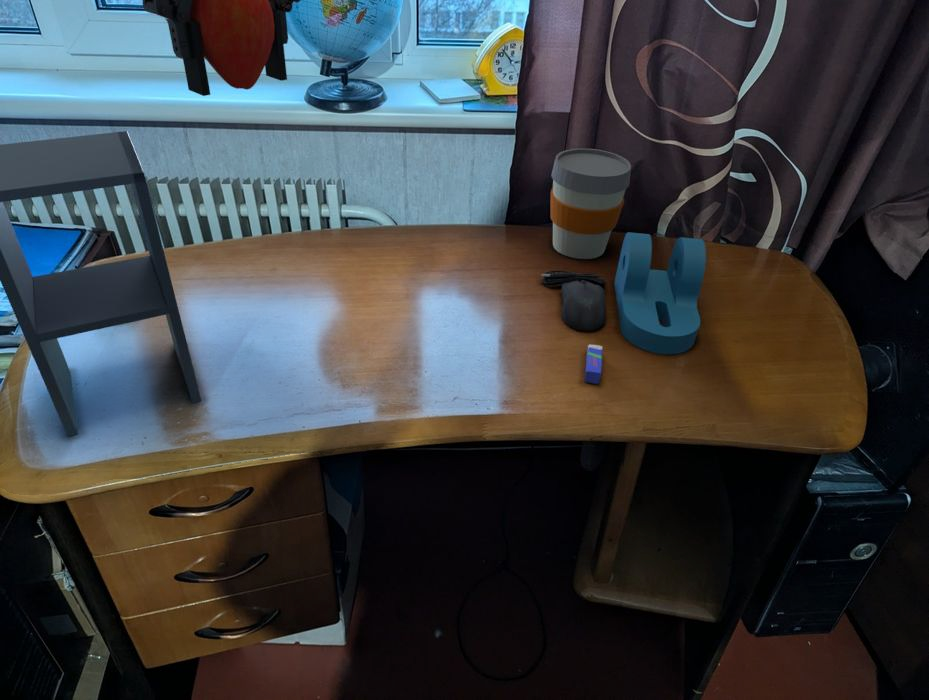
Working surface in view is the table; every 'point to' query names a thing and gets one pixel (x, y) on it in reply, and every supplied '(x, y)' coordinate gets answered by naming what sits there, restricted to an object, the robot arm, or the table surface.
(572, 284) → the computer mouse
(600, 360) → the eraser
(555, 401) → the table surface
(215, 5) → the apple
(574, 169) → the reusable coffee cup
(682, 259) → the bracket
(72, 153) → the shelf
